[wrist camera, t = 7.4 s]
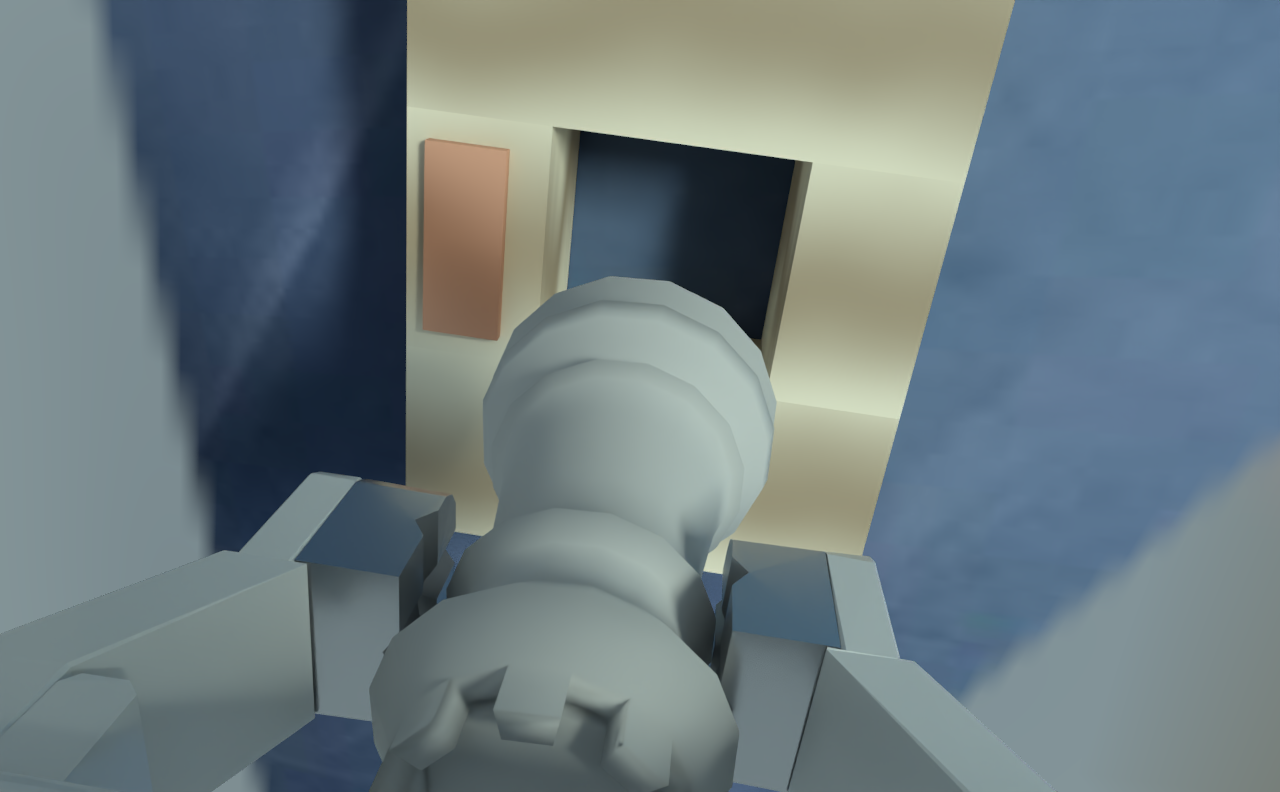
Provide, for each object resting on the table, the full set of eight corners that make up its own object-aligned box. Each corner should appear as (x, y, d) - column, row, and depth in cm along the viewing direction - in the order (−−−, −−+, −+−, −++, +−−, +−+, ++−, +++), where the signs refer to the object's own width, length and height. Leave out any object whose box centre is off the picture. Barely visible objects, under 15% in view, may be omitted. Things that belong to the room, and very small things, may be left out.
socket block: (466, -146, 20) (402, -181, 16) (985, -82, 20) (1048, -101, 16) (450, 452, 27) (401, 529, 23) (835, 512, 26) (852, 601, 23)
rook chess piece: (477, 479, 15) (230, 935, 8) (528, 231, 13) (265, 523, 6) (728, 548, 15) (721, 1065, 8) (815, 312, 13) (916, 700, 6)
